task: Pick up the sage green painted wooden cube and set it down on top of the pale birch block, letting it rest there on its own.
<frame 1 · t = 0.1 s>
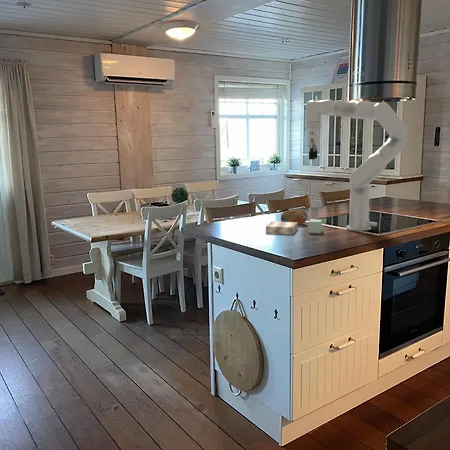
hand: (313, 158, 245), 37 cm above the worktop, tool pointing down, fingers open, 9 cm apart
sage cube: (315, 232, 240), on the worktop
birch block: (282, 231, 245), on the worktop
tin: (293, 225, 261), on the worktop
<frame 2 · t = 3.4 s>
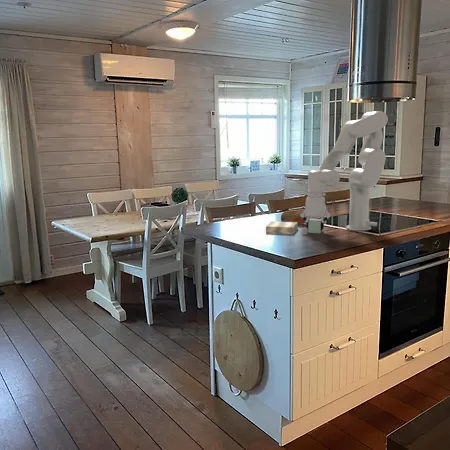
hand: (315, 229, 240), 1 cm above the worktop, tool pointing down, fingers closed on sage cube, 6 cm apart
sage cube: (315, 231, 240), on the worktop, touching gripper
everything else where it was.
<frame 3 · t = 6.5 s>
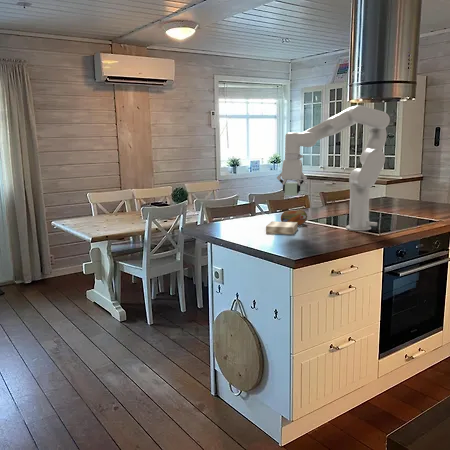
hand: (291, 192, 239), 20 cm above the worktop, tool pointing down, fingers closed on sage cube, 6 cm apart
sage cube: (291, 194, 240), point 19 cm above the worktop, touching gripper
everything else where it was.
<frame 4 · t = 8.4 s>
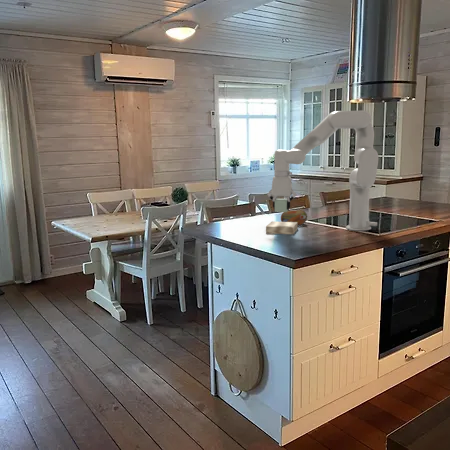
hand: (281, 208, 242), 12 cm above the worktop, tool pointing down, fingers closed on sage cube, 6 cm apart
sage cube: (281, 211, 243), point 11 cm above the worktop, touching gripper
everything else where it was.
when the fingers open (7 cm above the worktop, at t = 9.8 s): sage cube drops 2 cm, resting on birch block.
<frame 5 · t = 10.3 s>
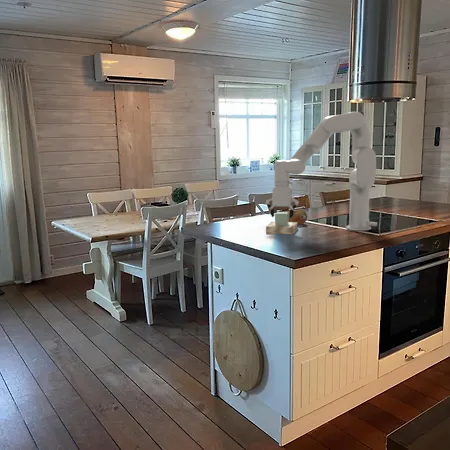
hand: (282, 217, 243), 7 cm above the worktop, tool pointing down, fingers open, 9 cm apart
sage cube: (281, 224, 244), point 3 cm above the worktop, touching birch block
birch block: (282, 231, 245), on the worktop, touching sage cube
everything else where it was.
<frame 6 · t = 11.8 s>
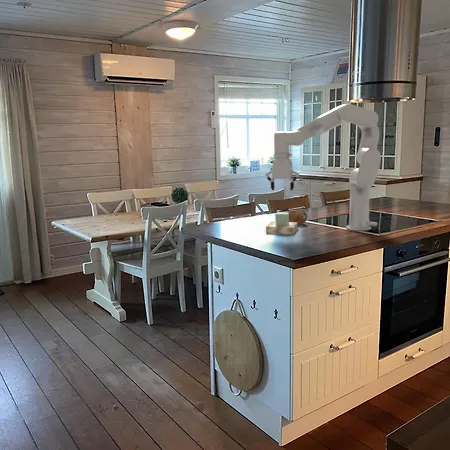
hand: (282, 189, 241), 22 cm above the worktop, tool pointing down, fingers open, 9 cm apart
nothing on the worktop moved.
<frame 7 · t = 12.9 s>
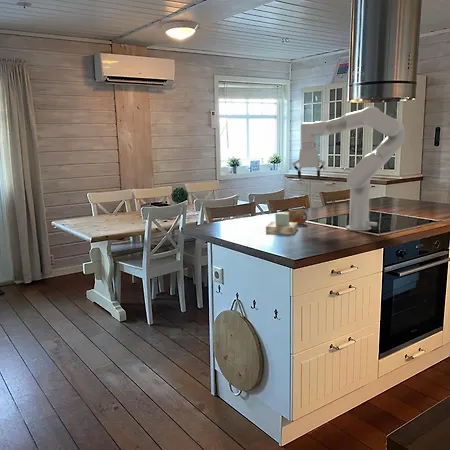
hand: (309, 178, 252), 26 cm above the worktop, tool pointing down, fingers open, 9 cm apart
nothing on the worktop moved.
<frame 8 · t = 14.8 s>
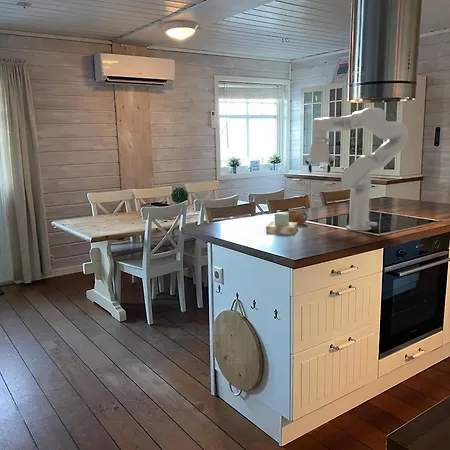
hand: (319, 172, 258), 28 cm above the worktop, tool pointing down, fingers open, 9 cm apart
nothing on the worktop moved.
at the end: sage cube inside the target area on the birch block (0.2 cm from its centre), point 4.0 cm above the birch block's base; sage cube tilted 0°; the gripper is holding nothing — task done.
